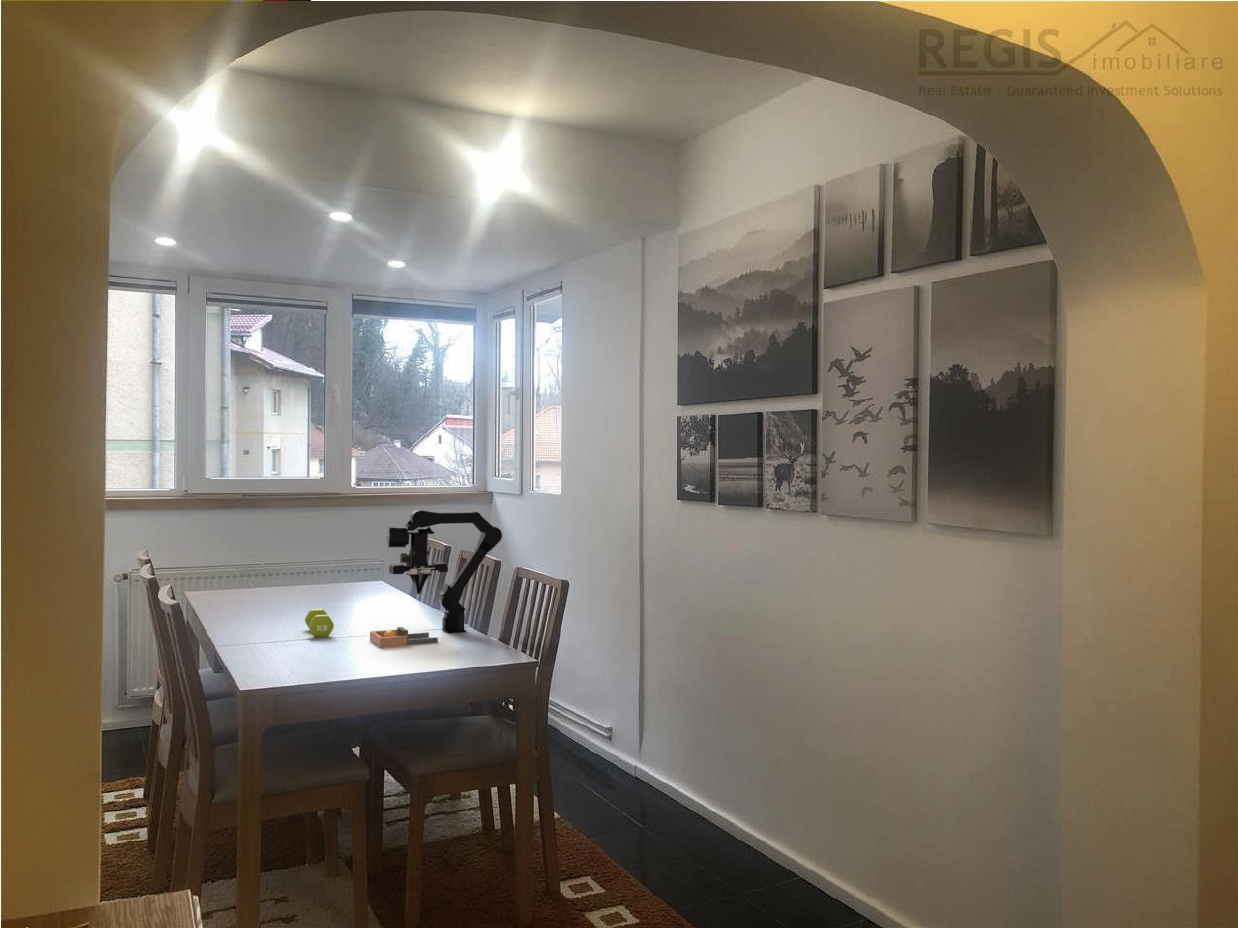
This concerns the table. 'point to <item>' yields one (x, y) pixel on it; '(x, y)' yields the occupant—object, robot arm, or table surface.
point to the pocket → (387, 639)
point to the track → (422, 639)
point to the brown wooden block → (402, 632)
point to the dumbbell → (319, 623)
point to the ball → (389, 633)
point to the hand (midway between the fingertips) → (418, 593)
